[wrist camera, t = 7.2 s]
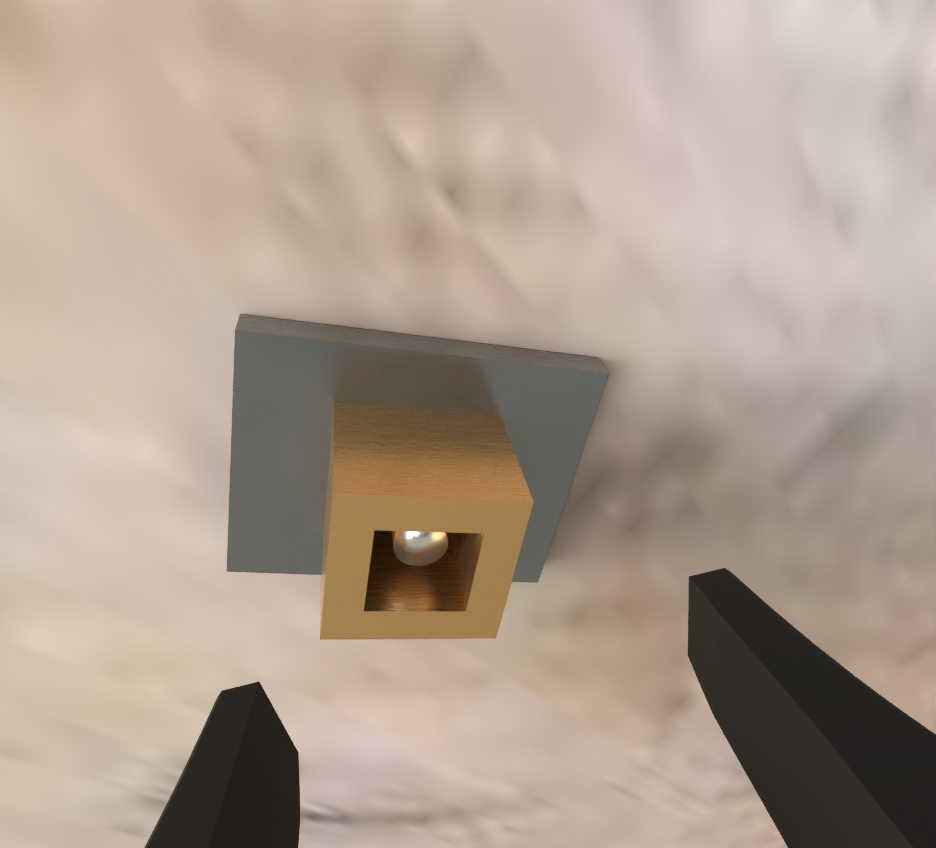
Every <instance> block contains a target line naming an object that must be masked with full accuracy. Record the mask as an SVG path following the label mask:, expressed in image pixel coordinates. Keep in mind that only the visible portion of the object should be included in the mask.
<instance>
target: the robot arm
mask: <svg viewBox="0 0 936 848" xmlns="http://www.w3.org/2000/svg"><path fill="white" fill-rule="evenodd" d="M688 657H689V659H690V661H691V664H692V666H693V669H694V671H695V673H696V676H697V678H698V681H699V683H700V685H701V688H702V690H703V692H704V695H705V697H706V699H707V701H708V704H709V706H710V708H711V710H712V713H713V715H714V717H715V719H716V720H717V722H718V724H719V726H720V728H721V729H722V731H723V733H724V735H725V737H726V738H727V740H728V742H729V744H730V746H731V747H732V749H733V751H734V753H735V754H736V756H737V758H738V760H739V762H740V763H741V765H742V767H743V769H744V770H745V772H746V774H747V776H748V777H749V779H750V781H751V783H752V785H753V786H754V788H755V790H756V792H757V793H758V795H759V797H760V799H761V800H762V802H763V804H764V806H765V807H766V809H767V811H768V813H769V815H770V816H771V818H772V820H773V822H774V823H775V825H776V827H777V829H778V830H779V832H780V834H781V836H782V837H783V839H784V841H785V843H786V845H787V846H788V848H936V734H934V733H933V732H931V731H930V730H928V729H927V728H926V727H924V726H923V725H921V724H920V723H918V722H917V721H915V720H914V719H913V718H911V717H910V716H908V715H907V714H906V713H904V712H903V711H901V710H900V709H899V708H897V707H896V706H894V705H893V704H892V703H890V702H889V701H888V700H886V699H885V698H883V697H882V696H881V695H879V694H878V693H877V692H875V691H874V690H873V689H871V688H870V687H869V686H867V685H866V684H865V683H863V682H862V681H861V680H859V679H858V678H857V677H855V676H854V675H853V674H852V673H850V672H849V671H848V670H846V669H845V668H844V667H843V666H841V665H840V664H839V663H838V662H836V661H835V660H834V659H833V658H831V657H830V656H829V655H827V654H826V653H825V652H824V651H822V650H821V649H820V648H819V647H817V646H816V645H815V644H814V643H812V642H811V641H810V640H809V639H808V638H806V637H805V636H804V635H803V634H801V633H800V632H799V631H798V630H797V629H796V628H794V627H793V626H792V625H791V624H790V623H788V622H787V621H786V620H785V619H784V618H783V617H781V616H780V615H779V614H778V613H777V612H775V611H774V610H773V609H772V608H771V607H770V606H769V605H767V604H766V603H765V602H764V601H763V600H762V599H761V598H759V597H758V596H757V595H756V594H755V593H754V592H753V591H752V590H750V589H749V588H748V587H747V586H746V585H745V584H744V583H743V582H741V581H740V580H739V579H738V578H737V577H736V576H735V575H734V574H733V573H731V572H730V571H729V570H727V569H725V568H723V569H719V570H715V571H710V572H706V573H702V574H698V575H694V576H690V577H689V617H688ZM299 827H300V787H299V760H298V751H297V749H296V748H295V746H294V744H293V742H292V740H291V739H290V737H289V735H288V733H287V731H286V729H285V728H284V726H283V724H282V722H281V720H280V719H279V717H278V715H277V713H276V711H275V710H274V708H273V706H272V704H271V702H270V700H269V699H268V697H267V695H266V693H265V691H264V690H263V688H262V686H261V684H260V682H256V683H252V684H248V685H244V686H240V687H235V688H231V689H227V690H223V691H222V692H221V693H220V694H219V696H218V697H217V699H216V702H215V704H214V706H213V708H212V710H211V712H210V715H209V717H208V719H207V721H206V723H205V726H204V728H203V730H202V732H201V734H200V736H199V739H198V741H197V743H196V745H195V747H194V749H193V751H192V754H191V756H190V758H189V760H188V762H187V764H186V766H185V768H184V770H183V772H182V774H181V777H180V779H179V781H178V783H177V785H176V787H175V789H174V791H173V793H172V795H171V797H170V799H169V801H168V803H167V805H166V807H165V809H164V811H163V813H162V815H161V817H160V819H159V821H158V823H157V824H156V826H155V828H154V830H153V832H152V834H151V836H150V838H149V840H148V842H147V844H146V846H145V848H298V841H299Z"/></svg>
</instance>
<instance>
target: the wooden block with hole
mask: <svg viewBox="0 0 936 848" xmlns="http://www.w3.org/2000/svg"><path fill="white" fill-rule="evenodd" d="M533 502H534V501H533V499H532V496H531V494H530V491H529V488H528V486H527V483H526V481H525V478H524V475H523V473H522V470H521V468H520V465H519V462H518V460H517V457H516V455H515V452H514V450H513V447H512V444H511V442H510V439H509V437H508V434H507V431H506V429H505V426H504V424H503V421H502V419H501V416H500V414H494V413H480V412H465V411H451V410H437V409H422V408H408V407H393V406H379V405H365V404H350V403H336V402H334V409H333V421H332V433H331V445H330V457H329V468H328V480H327V492H326V504H325V516H324V528H323V550H322V585H321V620H320V640H321V639H459V638H496V636H497V633H498V629H499V625H500V622H501V618H502V614H503V611H504V607H505V604H506V600H507V596H508V593H509V589H510V585H511V582H512V578H513V575H514V571H515V567H516V564H517V560H518V557H519V553H520V549H521V546H522V542H523V538H524V535H525V531H526V528H527V524H528V520H529V517H530V513H531V509H532V506H533ZM392 531H416V532H446V533H447V538H448V547H447V550H446V552H445V553H444V555H443V556H442V557H441V558H440V559H438V560H437V561H435V562H433V563H431V564H428V565H424V566H412V565H408V564H406V563H403V562H402V561H400V560H399V559H398V558H397V557H396V555H395V553H394V549H393V539H392Z"/></svg>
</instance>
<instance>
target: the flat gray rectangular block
mask: <svg viewBox="0 0 936 848" xmlns="http://www.w3.org/2000/svg"><path fill="white" fill-rule="evenodd" d="M608 375H609V372H608V371H607V370H606V368H605V367H604V366H603V364H602V363H601V361H600V360H599V359H598V358H597V357H589V356H580V355H572V354H564V353H556V352H548V351H539V350H531V349H523V348H515V347H507V346H498V345H490V344H482V343H474V342H466V341H457V340H449V339H441V338H433V337H425V336H416V335H408V334H400V333H392V332H383V331H375V330H367V329H359V328H351V327H342V326H334V325H326V324H318V323H310V322H301V321H293V320H285V319H277V318H269V317H260V316H252V315H244V314H240V316H239V319H238V323H237V326H236V329H235V350H234V379H233V408H232V436H231V465H230V494H229V522H228V551H227V571H229V572H257V573H285V574H314V575H322V550H323V528H324V516H325V504H326V492H327V480H328V468H329V457H330V445H331V433H332V421H333V409H334V402H336V403H350V404H365V405H379V406H393V407H408V408H422V409H437V410H451V411H465V412H480V413H494V414H500V416H501V419H502V421H503V424H504V426H505V429H506V431H507V434H508V437H509V439H510V442H511V444H512V447H513V450H514V452H515V455H516V457H517V460H518V462H519V465H520V468H521V470H522V473H523V475H524V478H525V481H526V483H527V486H528V488H529V491H530V494H531V496H532V499H533V501H534V502H533V506H532V509H531V513H530V517H529V520H528V524H527V528H526V531H525V535H524V538H523V542H522V546H521V549H520V553H519V557H518V560H517V564H516V567H515V571H514V575H513V578H512V582H538V580H539V577H540V574H541V571H542V569H543V566H544V563H545V560H546V557H547V554H548V551H549V548H550V545H551V542H552V539H553V536H554V533H555V530H556V528H557V525H558V522H559V519H560V516H561V513H562V510H563V507H564V504H565V501H566V498H567V495H568V492H569V490H570V487H571V484H572V481H573V478H574V475H575V472H576V469H577V466H578V463H579V460H580V457H581V454H582V451H583V449H584V446H585V443H586V440H587V437H588V434H589V431H590V428H591V425H592V422H593V419H594V416H595V413H596V410H597V408H598V405H599V402H600V399H601V396H602V393H603V390H604V387H605V384H606V381H607V378H608ZM392 539H393V549H394V553H395V555H396V557H397V558H398V559H399V560H400V561H402V562H403V563H406V564H408V565H412V566H424V565H428V564H431V563H433V562H435V561H437V560H438V559H440V558H441V557H442V556H443V555H444V553H445V552H446V550H447V547H448V538H447V533H446V532H416V531H392Z"/></svg>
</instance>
